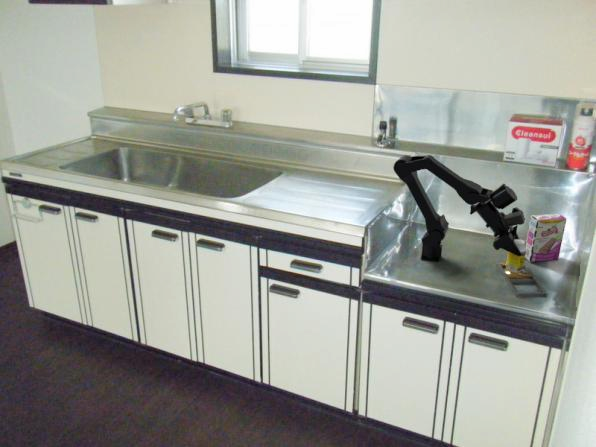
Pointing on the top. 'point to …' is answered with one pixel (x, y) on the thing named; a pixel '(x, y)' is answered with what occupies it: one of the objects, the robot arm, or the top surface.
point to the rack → (521, 281)
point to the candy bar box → (544, 237)
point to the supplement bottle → (516, 257)
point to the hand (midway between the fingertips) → (521, 252)
